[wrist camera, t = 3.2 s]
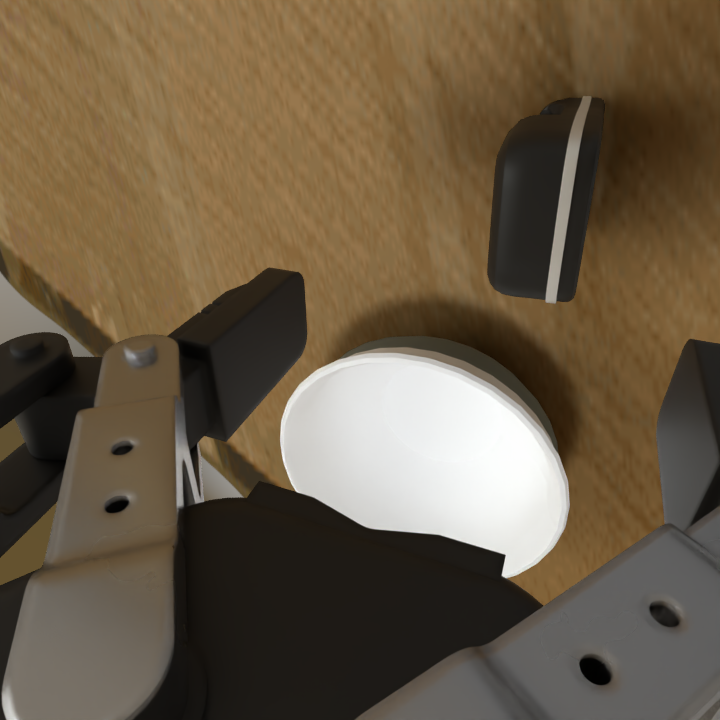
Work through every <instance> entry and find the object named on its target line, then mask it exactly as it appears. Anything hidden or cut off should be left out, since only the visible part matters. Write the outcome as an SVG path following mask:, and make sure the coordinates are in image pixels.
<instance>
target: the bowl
mask: <svg viewBox="0 0 720 720" xmlns="http://www.w3.org/2000/svg"><path fill="white" fill-rule="evenodd" d="M280 444H281V451H282V457H283V463H284V465H285V468H286V471H287V473H288V476H289V479H290V481H291V483H292V485H293V487H294V489H295V490H296V492H298V493H301V494H304V495H308V496H311V497H314V498H316V499H317V500H319V501H321V502H323V503H324V504H326V505H328V506H330V507H331V508H333V509H335V510H336V511H338V512H340V513H342V514H343V515H345V516H347V517H348V518H350V519H352V520H354V521H355V522H357V523H359V524H361V525H362V526H365V527H367V528H370V529H378V530H390V531H401V532H413V533H425V534H436V535H441V536H445V537H448V538H451V539H455V540H458V541H461V542H465V543H468V544H471V545H475V546H478V547H481V548H485V549H488V550H491V551H495V552H498V553H501V554H505V555H506V556H505V561H504V566H503V571H502V576H503V577H505V578H509V577H512V576H515V575H518V574H520V573H521V572H523V571H525V570H527V569H528V568H530V567H532V566H534V565H535V564H537V563H538V562H539V561H540V560H541V559H542V558H543V557H544V556H545V555H546V554H547V553H548V552H549V551H551V550H552V549H553V548H554V547H555V545H556V543H557V541H558V539H559V538H560V536H561V534H562V532H563V531H564V529H565V526H566V521H567V517H568V512H569V507H570V501H569V488H568V480H567V477H566V474H565V471H564V468H563V465H562V463H561V460H560V457H559V455H558V447H557V440H556V437H555V435H554V432H553V429H552V426H551V423H550V420H549V419H548V417H547V415H546V414H545V412H544V410H543V409H542V407H541V406H540V404H539V402H538V401H537V399H536V398H535V397H534V396H533V395H532V394H531V393H530V391H529V390H528V389H527V388H526V387H525V386H524V385H523V384H522V383H521V382H520V381H519V380H518V379H517V377H516V376H515V375H514V374H513V373H512V372H510V371H509V370H508V369H506V368H505V367H504V366H502V365H501V364H500V363H498V362H497V361H496V360H494V359H493V358H491V357H489V356H487V355H485V354H483V353H482V352H480V351H478V350H476V349H474V348H472V347H470V346H467V345H463V344H460V343H457V342H454V341H451V340H448V339H442V338H435V337H428V336H401V337H388V338H384V339H379V340H375V341H371V342H367V343H365V344H363V345H361V346H358V347H356V348H354V349H352V350H350V351H348V352H347V353H346V354H344V355H343V356H342V357H341V358H339V359H338V360H337V361H335V362H332V363H330V364H328V365H326V366H324V367H322V368H320V369H318V370H316V371H315V372H314V373H312V374H311V375H310V376H309V377H308V378H306V379H305V380H304V381H303V382H302V383H300V384H299V386H298V387H297V389H296V390H295V392H294V393H293V394H292V396H291V397H290V399H289V400H288V402H287V405H286V408H285V411H284V414H283V417H282V421H281V435H280Z"/></svg>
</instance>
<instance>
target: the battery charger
mask: <svg viewBox="0 0 720 720" xmlns="http://www.w3.org/2000/svg"><path fill="white" fill-rule="evenodd" d="M604 111H605V102H604V100H603V99H601V98H592V96H583V98H567V99H563V100H558V101H555V102H553V103H551V104H549V105H547V106H546V107H545V108H544V109H543V110H542V112H541V113H540V115H533V116H529V117H526V118H524V119H521V120H520V121H519V122H518V123H517V124H516V125H515V126H514V127H513V128H512V129H511V130H510V131H509V133H508V134H507V136H506V138H505V140H504V142H503V144H502V146H501V148H500V150H499V152H498V155H497V160H496V166H495V177H494V189H493V202H492V214H491V227H490V241H489V254H488V272H487V273H488V278H489V281H490V284H491V285H492V286H493V288H494V289H495V290H497V291H498V292H500V293H502V294H505V295H510V296H516V297H525V298H534V299H542V300H546V303H555V304H556V301H560V302H568V301H571V300H572V299H573V298H574V296H575V293H576V287H577V282H578V276H579V270H580V264H581V259H582V253H583V247H584V241H585V235H586V230H587V224H588V218H589V212H590V206H591V200H592V195H593V189H594V183H595V177H596V171H597V165H598V159H599V153H600V146H601V138H602V130H603V120H604Z"/></svg>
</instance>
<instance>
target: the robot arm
mask: <svg viewBox="0 0 720 720" xmlns="http://www.w3.org/2000/svg"><path fill="white" fill-rule="evenodd" d="M306 340H307V322H306V304H305V287H304V279H303V277H302V275H301V274H300V273H299V272H293V271H287V270H281V269H275V268H267V269H265V270H264V271H263V272H262V273H260V274H259V275H258V276H256V277H255V278H254V279H253V280H251V281H250V282H249V283H247V284H244V285H242V286H239V287H237V288H234V289H232V290H229V291H227V292H225V293H224V294H222V295H221V296H220V297H218V298H217V299H216V300H214V301H213V303H212V304H209V305H208V306H207V307H205V308H204V309H203V310H201V313H197V314H196V315H195V316H193V317H192V318H191V319H189V320H188V321H187V322H185V323H184V324H183V325H181V326H180V327H179V328H177V329H176V330H175V331H173V332H172V333H171V334H169V335H168V336H163V335H155V334H153V335H140V336H135V337H131V338H128V339H125V340H122V341H120V342H118V343H116V344H114V345H113V346H111V347H110V348H109V349H108V350H107V351H106V352H105V353H104V355H103V357H73V355H72V352H71V349H70V346H69V343H68V340H67V339H66V338H65V337H64V336H62V335H60V334H57V333H50V332H42V333H33V334H28V335H23V336H20V337H17V338H14V339H11V340H9V341H7V342H5V343H3V344H1V345H0V428H2V427H3V426H4V425H6V424H7V423H8V422H10V421H11V420H12V419H14V418H15V420H16V423H17V425H18V427H19V429H20V432H21V434H22V436H23V439H24V441H25V443H24V444H22V445H21V446H20V447H19V448H17V449H16V450H15V451H14V452H12V453H11V454H10V455H9V456H8V457H6V458H5V459H4V460H3V461H1V462H0V557H1V556H2V555H3V554H4V553H5V552H6V551H8V550H9V549H10V548H11V547H12V546H13V545H14V544H15V543H16V542H17V541H18V540H19V539H20V538H21V537H22V536H23V535H24V534H25V533H26V532H27V531H28V530H29V529H30V528H31V527H32V526H33V525H34V524H35V523H36V522H37V521H38V520H39V519H40V518H41V517H42V516H43V515H44V514H45V513H46V512H47V511H48V510H49V509H50V508H51V507H52V506H53V505H54V504H55V503H56V502H57V501H58V502H57V506H56V511H55V516H54V520H53V525H52V529H51V534H50V539H49V544H48V548H47V552H46V557H45V561H44V563H43V565H42V567H41V568H40V569H38V570H35V571H33V572H31V573H28V574H26V575H24V576H21V577H19V578H17V579H15V580H12V581H10V582H7V583H5V584H3V585H0V720H720V344H718V343H712V342H706V341H700V340H694V339H689V340H688V341H687V343H686V344H685V346H684V348H683V350H682V353H681V356H680V358H679V361H678V364H677V366H676V369H675V371H674V374H673V377H672V379H671V382H670V385H669V387H668V390H667V393H666V395H665V398H664V400H663V403H662V406H661V409H660V413H659V417H658V422H657V431H656V437H657V448H658V458H659V468H660V479H661V489H662V499H663V510H664V520H665V524H664V525H662V526H660V527H659V528H657V529H656V530H654V531H653V532H651V533H650V534H648V535H647V536H645V537H644V538H642V539H641V540H640V541H638V542H637V543H635V544H634V545H632V546H631V547H629V548H628V549H626V550H625V551H623V552H622V553H621V554H619V555H618V556H616V557H615V558H613V559H612V560H610V561H609V562H607V563H606V564H604V565H603V566H602V567H600V568H599V569H597V570H596V571H594V572H593V573H591V574H590V575H588V576H587V577H586V578H584V579H583V580H581V581H580V582H578V583H577V584H575V585H574V586H572V587H571V588H569V589H568V590H567V591H565V592H564V593H562V594H561V595H559V596H558V597H556V598H555V599H553V600H552V601H550V602H549V603H548V604H546V605H545V606H543V605H542V604H541V603H540V602H538V601H537V600H536V599H535V598H534V597H533V596H532V595H530V594H529V593H528V592H526V591H525V590H523V589H522V588H521V587H519V586H518V585H516V584H515V583H513V582H512V581H510V580H508V579H506V578H505V577H503V576H502V571H503V566H504V561H505V556H506V555H505V554H501V553H498V552H495V551H491V550H488V549H485V548H481V547H478V546H475V545H471V544H468V543H465V542H461V541H458V540H455V539H451V538H448V537H445V536H441V535H436V534H425V533H413V532H401V531H390V530H378V529H370V528H367V527H365V526H362V525H361V524H359V523H357V522H355V521H354V520H352V519H350V518H348V517H347V516H345V515H343V514H342V513H340V512H338V511H336V510H335V509H333V508H331V507H330V506H328V505H326V504H324V503H323V502H321V501H319V500H317V499H316V498H314V497H311V496H308V495H304V494H301V493H298V492H294V491H291V490H288V489H284V488H281V487H278V486H274V485H271V484H268V483H264V482H261V481H259V482H258V483H257V485H256V486H255V487H254V489H253V490H252V491H251V493H250V494H249V496H248V497H247V498H222V499H215V500H209V501H204V495H203V482H202V468H201V454H200V449H199V444H198V442H199V441H200V439H201V438H202V437H203V436H207V437H211V438H214V439H218V440H222V441H225V442H226V441H227V440H228V439H229V438H230V437H231V436H232V434H233V433H234V432H235V431H236V430H237V429H238V428H239V426H240V425H241V424H242V423H243V422H244V421H245V420H246V418H247V417H248V416H249V415H250V414H251V413H252V412H253V410H254V409H255V408H256V407H257V406H258V405H259V404H260V402H261V401H262V400H263V399H264V398H265V397H266V396H267V394H268V393H269V392H270V391H271V390H272V389H273V388H274V386H275V385H276V384H277V383H278V382H279V381H280V380H281V378H282V377H283V376H284V375H285V374H286V373H287V372H288V370H289V369H290V368H291V367H292V366H293V365H294V364H295V362H296V361H297V360H298V359H299V358H300V356H301V355H302V353H303V351H304V348H305V345H306Z"/></svg>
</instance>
